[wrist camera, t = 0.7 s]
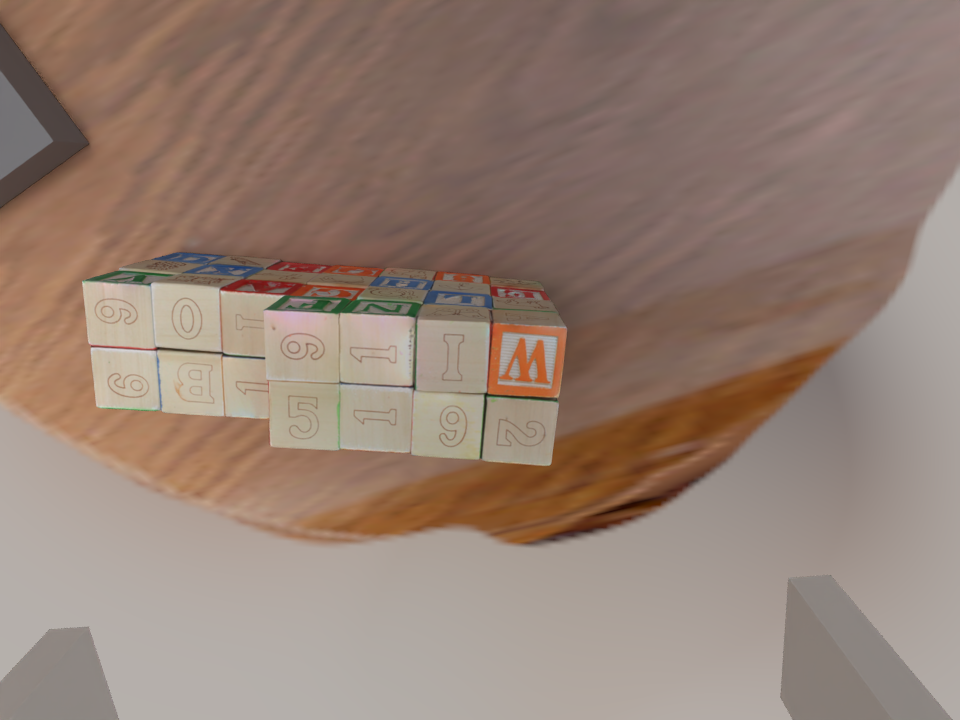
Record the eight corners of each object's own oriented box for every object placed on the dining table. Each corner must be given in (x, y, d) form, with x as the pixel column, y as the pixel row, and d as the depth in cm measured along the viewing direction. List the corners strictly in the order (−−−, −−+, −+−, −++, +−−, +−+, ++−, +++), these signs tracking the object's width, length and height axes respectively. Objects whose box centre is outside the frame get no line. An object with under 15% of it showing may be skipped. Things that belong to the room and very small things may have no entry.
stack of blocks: (182, 353, 38) (49, 433, 27) (176, 250, 37) (30, 287, 25) (532, 380, 39) (553, 470, 27) (543, 278, 37) (571, 328, 25)
